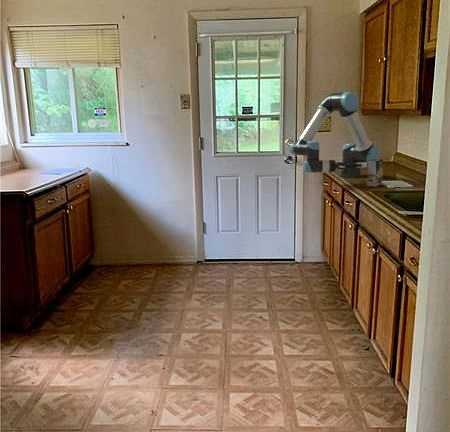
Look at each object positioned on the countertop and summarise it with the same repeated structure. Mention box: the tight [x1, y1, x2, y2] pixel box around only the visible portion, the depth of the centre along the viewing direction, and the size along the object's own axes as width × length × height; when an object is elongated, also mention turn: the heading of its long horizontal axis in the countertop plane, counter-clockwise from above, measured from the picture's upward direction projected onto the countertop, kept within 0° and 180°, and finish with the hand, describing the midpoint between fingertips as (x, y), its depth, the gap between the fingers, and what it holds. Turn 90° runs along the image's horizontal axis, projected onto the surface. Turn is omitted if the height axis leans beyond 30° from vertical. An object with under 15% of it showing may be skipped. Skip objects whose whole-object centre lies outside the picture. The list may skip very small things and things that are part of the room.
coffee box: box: [366, 158, 384, 188], centre depth 284 cm, size 9×6×16 cm
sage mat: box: [381, 180, 414, 189], centre depth 285 cm, size 19×14×1 cm
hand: (366, 164), depth 283 cm, fingers closed
